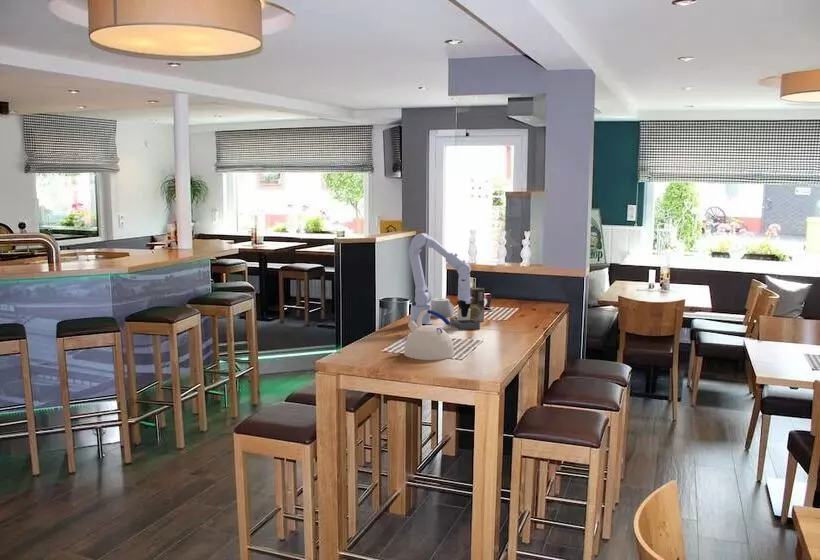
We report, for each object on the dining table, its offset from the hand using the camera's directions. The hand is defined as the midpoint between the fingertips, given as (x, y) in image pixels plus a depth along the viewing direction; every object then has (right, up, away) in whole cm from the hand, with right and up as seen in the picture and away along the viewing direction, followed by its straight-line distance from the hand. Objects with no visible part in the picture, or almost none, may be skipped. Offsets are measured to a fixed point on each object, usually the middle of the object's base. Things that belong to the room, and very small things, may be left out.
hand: (463, 316), depth 345 cm
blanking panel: (0, -3, 0) cm, 3 cm away
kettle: (-18, -13, -59) cm, 63 cm away
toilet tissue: (-9, -1, +27) cm, 29 cm away
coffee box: (+7, -3, +16) cm, 17 cm away
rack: (0, -5, -1) cm, 5 cm away
